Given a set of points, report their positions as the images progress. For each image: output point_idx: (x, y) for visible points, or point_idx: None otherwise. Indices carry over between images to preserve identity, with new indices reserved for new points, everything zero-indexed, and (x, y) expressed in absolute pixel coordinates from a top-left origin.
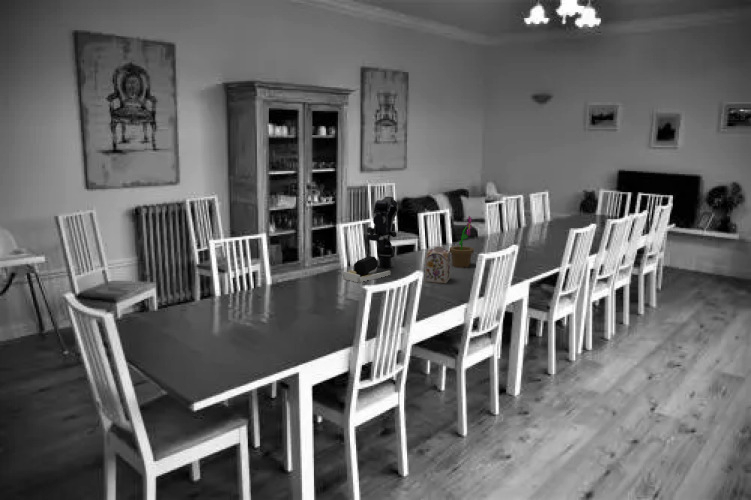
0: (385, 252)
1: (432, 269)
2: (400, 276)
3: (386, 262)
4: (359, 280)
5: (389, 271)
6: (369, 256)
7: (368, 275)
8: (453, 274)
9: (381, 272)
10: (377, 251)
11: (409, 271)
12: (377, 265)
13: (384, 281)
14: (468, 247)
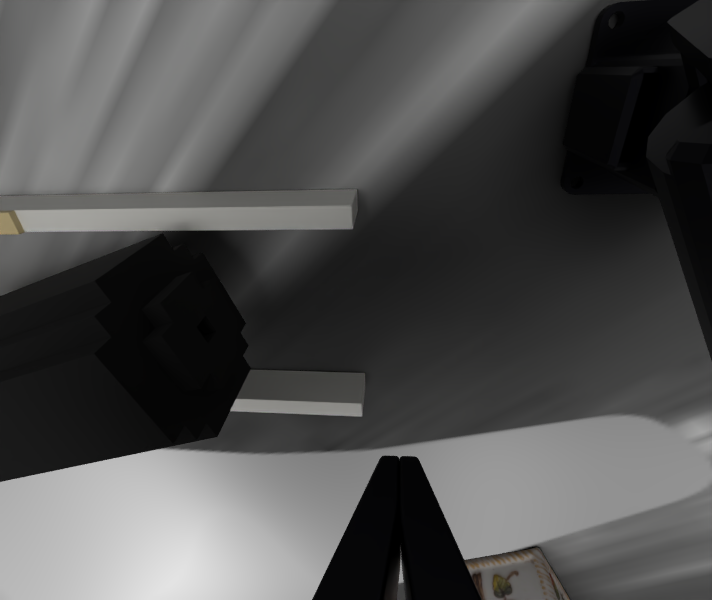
0: (695, 301)
1: None
2: (402, 444)
3: (644, 189)
4: None
5: (348, 413)
6: (93, 375)
7: None
8: (701, 594)
9: (252, 401)
10: (703, 57)
11: (611, 407)
12: (239, 382)
13: (209, 447)
14: None
